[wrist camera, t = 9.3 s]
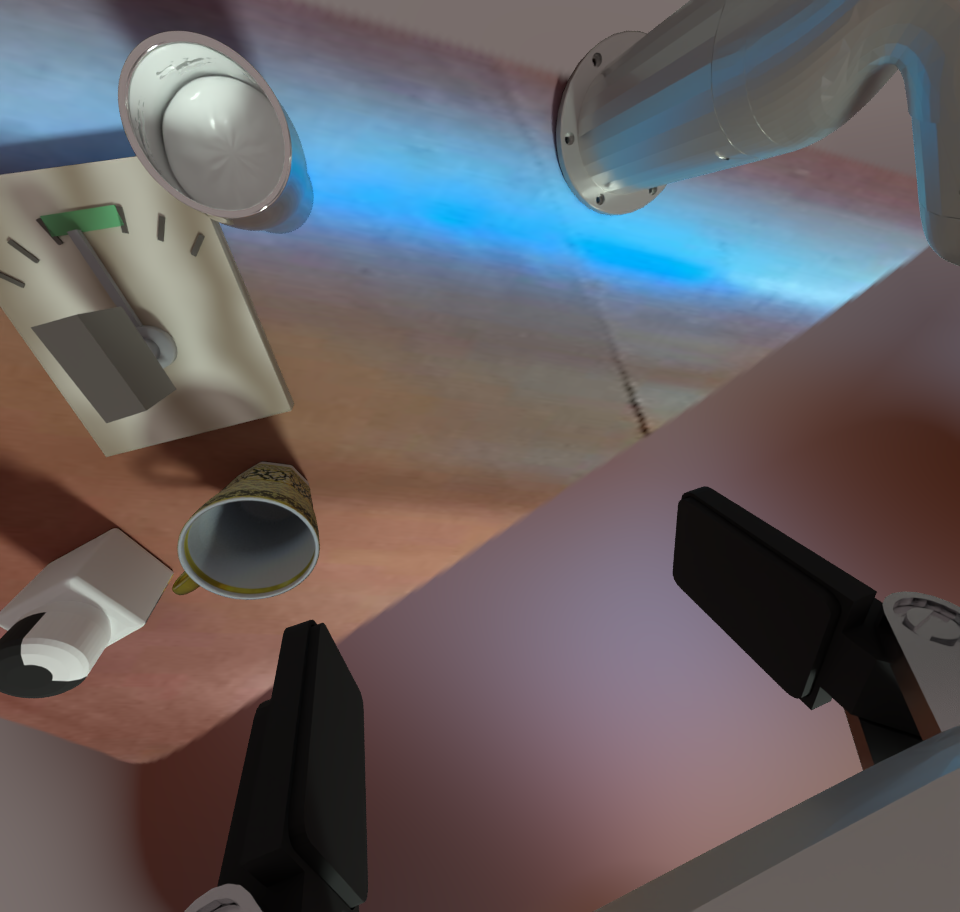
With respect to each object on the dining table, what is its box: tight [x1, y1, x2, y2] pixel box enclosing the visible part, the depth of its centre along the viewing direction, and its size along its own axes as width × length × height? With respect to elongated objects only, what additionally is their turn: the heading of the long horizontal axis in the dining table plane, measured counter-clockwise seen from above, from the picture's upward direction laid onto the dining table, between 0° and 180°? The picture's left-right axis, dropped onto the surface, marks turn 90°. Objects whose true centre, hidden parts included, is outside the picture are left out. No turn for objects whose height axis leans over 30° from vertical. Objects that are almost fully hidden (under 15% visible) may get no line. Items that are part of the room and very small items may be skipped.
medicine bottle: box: [0, 528, 174, 698], centre depth 34 cm, size 7×7×12 cm
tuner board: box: [0, 156, 294, 457], centre depth 31 cm, size 15×19×2 cm
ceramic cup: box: [172, 462, 320, 600], centre depth 36 cm, size 13×10×10 cm
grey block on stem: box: [31, 229, 178, 423], centre depth 26 cm, size 3×11×8 cm, turn 15°
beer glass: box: [118, 31, 314, 234], centre depth 24 cm, size 7×7×15 cm
